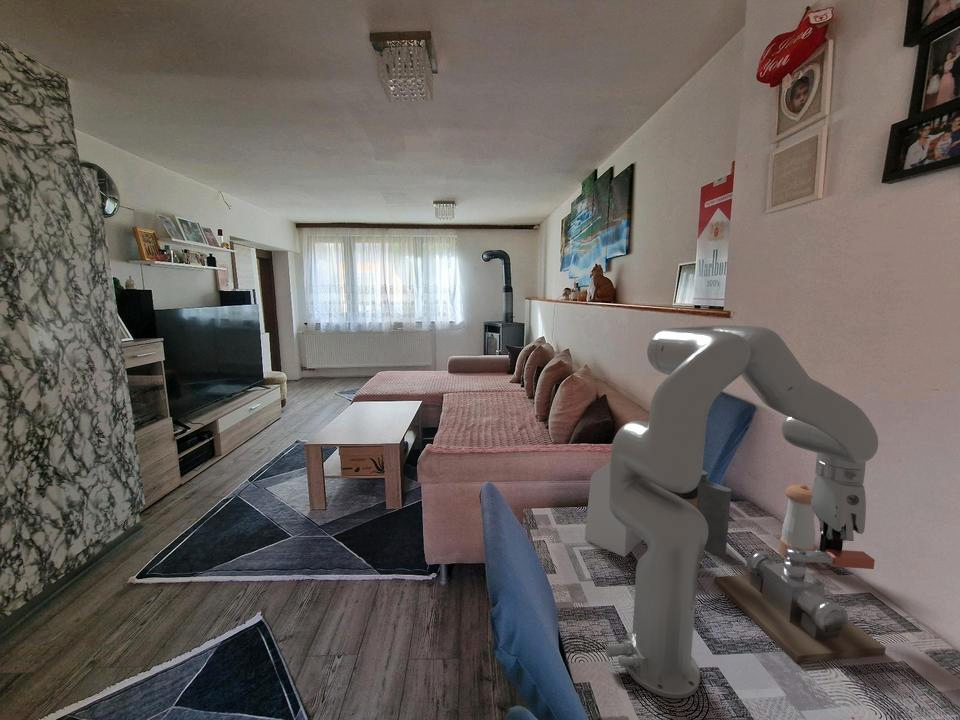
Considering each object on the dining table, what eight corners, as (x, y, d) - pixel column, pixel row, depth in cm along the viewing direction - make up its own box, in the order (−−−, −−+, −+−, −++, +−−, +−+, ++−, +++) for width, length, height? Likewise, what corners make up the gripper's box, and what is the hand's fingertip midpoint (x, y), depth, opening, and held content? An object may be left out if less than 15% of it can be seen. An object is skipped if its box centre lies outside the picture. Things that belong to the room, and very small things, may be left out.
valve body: (814, 644, 76) (820, 594, 75) (742, 580, 94) (746, 539, 92) (848, 641, 77) (854, 591, 75) (770, 578, 94) (774, 538, 93)
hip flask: (728, 553, 107) (735, 480, 104) (718, 558, 105) (725, 483, 102) (674, 525, 121) (679, 460, 118) (665, 528, 119) (669, 462, 116)
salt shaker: (815, 554, 107) (823, 484, 104) (812, 567, 101) (821, 493, 99) (780, 543, 112) (787, 476, 109) (776, 555, 106) (784, 484, 104)
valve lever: (791, 566, 83) (792, 554, 82) (781, 556, 86) (783, 545, 85) (874, 572, 81) (875, 560, 81) (861, 562, 84) (862, 550, 84)
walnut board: (796, 663, 73) (797, 655, 73) (713, 582, 95) (714, 576, 95) (884, 654, 76) (885, 647, 75) (783, 577, 97) (784, 571, 97)
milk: (605, 523, 121) (609, 438, 118) (643, 538, 113) (649, 448, 110) (584, 539, 113) (588, 448, 110) (624, 557, 105) (630, 459, 102)
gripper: (888, 488, 76) (876, 579, 78) (837, 459, 90) (829, 537, 93) (841, 484, 77) (831, 574, 80) (798, 456, 92) (791, 533, 94)
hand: (830, 554), depth 86 cm, fingers closed
